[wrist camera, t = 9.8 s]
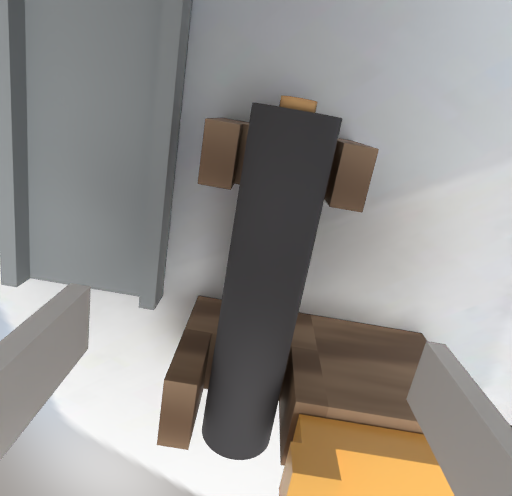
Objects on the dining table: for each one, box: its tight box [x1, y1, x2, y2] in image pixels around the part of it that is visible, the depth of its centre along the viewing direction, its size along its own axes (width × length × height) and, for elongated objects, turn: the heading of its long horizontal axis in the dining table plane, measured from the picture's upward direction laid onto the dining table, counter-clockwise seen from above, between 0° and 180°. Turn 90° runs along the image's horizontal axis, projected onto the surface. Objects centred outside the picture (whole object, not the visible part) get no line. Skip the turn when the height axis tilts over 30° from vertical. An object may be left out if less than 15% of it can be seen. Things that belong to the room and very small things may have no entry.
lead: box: [202, 96, 342, 460], centre depth 20 cm, size 19×4×4 cm, turn 170°
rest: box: [198, 118, 379, 212], centre depth 21 cm, size 3×8×6 cm, turn 80°
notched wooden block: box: [157, 296, 427, 465], centre depth 24 cm, size 4×16×9 cm, turn 80°
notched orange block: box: [279, 414, 455, 496], centre depth 18 cm, size 3×10×3 cm, turn 80°
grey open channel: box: [0, 0, 192, 310], centre depth 23 cm, size 21×10×2 cm, turn 170°
